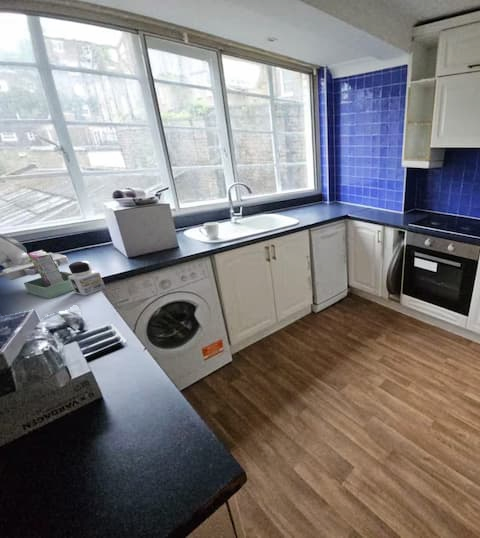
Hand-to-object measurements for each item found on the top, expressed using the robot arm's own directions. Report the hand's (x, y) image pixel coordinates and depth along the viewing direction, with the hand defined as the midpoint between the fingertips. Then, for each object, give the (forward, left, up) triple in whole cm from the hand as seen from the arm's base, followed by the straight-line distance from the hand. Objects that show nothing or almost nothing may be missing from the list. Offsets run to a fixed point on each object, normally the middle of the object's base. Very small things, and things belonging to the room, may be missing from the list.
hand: (46, 268), depth 126 cm
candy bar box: (0, -2, -9) cm, 9 cm away
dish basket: (0, -2, -10) cm, 10 cm away
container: (+4, -18, -10) cm, 20 cm away
